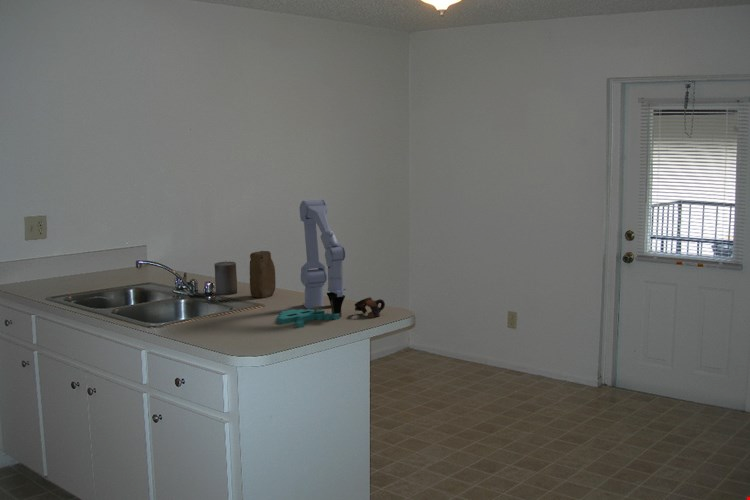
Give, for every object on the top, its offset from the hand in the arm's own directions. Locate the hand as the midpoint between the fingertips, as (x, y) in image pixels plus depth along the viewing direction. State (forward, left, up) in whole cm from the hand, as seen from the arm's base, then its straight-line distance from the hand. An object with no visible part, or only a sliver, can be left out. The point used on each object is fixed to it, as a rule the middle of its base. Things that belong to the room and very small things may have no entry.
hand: (336, 311), depth 301 cm
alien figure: (+1, -13, -2) cm, 14 cm away
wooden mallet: (0, -4, -2) cm, 4 cm away
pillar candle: (-62, -37, -2) cm, 72 cm away
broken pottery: (+3, +13, -2) cm, 14 cm away
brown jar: (-49, -22, -2) cm, 53 cm away
